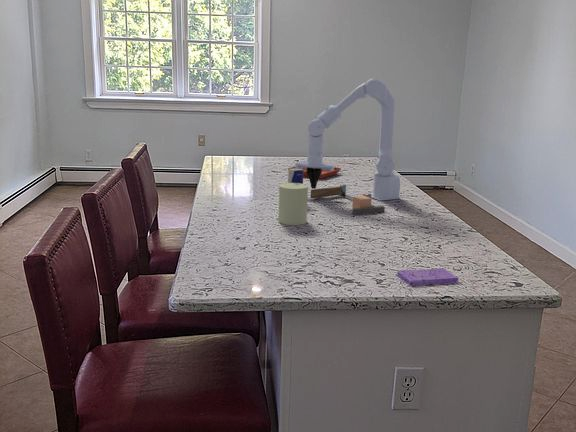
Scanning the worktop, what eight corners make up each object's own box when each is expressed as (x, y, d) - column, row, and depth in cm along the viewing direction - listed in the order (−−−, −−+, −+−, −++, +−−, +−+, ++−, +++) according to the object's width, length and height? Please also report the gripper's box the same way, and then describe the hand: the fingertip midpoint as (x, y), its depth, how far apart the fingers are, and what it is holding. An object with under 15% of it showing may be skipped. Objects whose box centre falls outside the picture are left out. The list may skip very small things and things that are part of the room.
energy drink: (300, 204, 214) (302, 170, 211) (286, 203, 215) (287, 169, 212) (303, 200, 219) (304, 168, 216) (289, 199, 220) (290, 167, 217)
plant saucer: (341, 174, 272) (342, 167, 272) (322, 181, 258) (322, 173, 257) (307, 170, 282) (307, 163, 281) (286, 175, 267) (286, 168, 266)
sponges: (396, 277, 146) (397, 270, 146) (443, 274, 149) (444, 267, 149) (409, 288, 140) (410, 280, 139) (458, 284, 143) (459, 276, 142)
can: (310, 219, 194) (312, 182, 191) (301, 226, 186) (303, 188, 183) (283, 216, 197) (284, 180, 194) (273, 223, 189) (274, 185, 186)
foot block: (363, 208, 211) (363, 195, 210) (370, 211, 207) (371, 198, 206) (352, 209, 209) (353, 196, 208) (359, 212, 205) (360, 199, 204)
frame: (345, 194, 232) (346, 184, 230) (374, 205, 215) (374, 194, 214) (337, 195, 230) (338, 184, 229) (365, 206, 214) (366, 195, 213)
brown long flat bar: (339, 194, 228) (340, 186, 227) (312, 198, 221) (312, 190, 220) (337, 194, 229) (338, 186, 228) (310, 197, 222) (310, 189, 221)
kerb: (381, 210, 208) (382, 205, 207) (384, 211, 207) (384, 206, 206) (352, 213, 203) (352, 208, 202) (354, 215, 201) (355, 209, 201)
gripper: (293, 152, 223) (292, 188, 227) (331, 155, 219) (329, 191, 223) (298, 149, 230) (297, 184, 233) (336, 152, 226) (334, 188, 229)
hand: (313, 188), depth 229 cm, fingers closed
